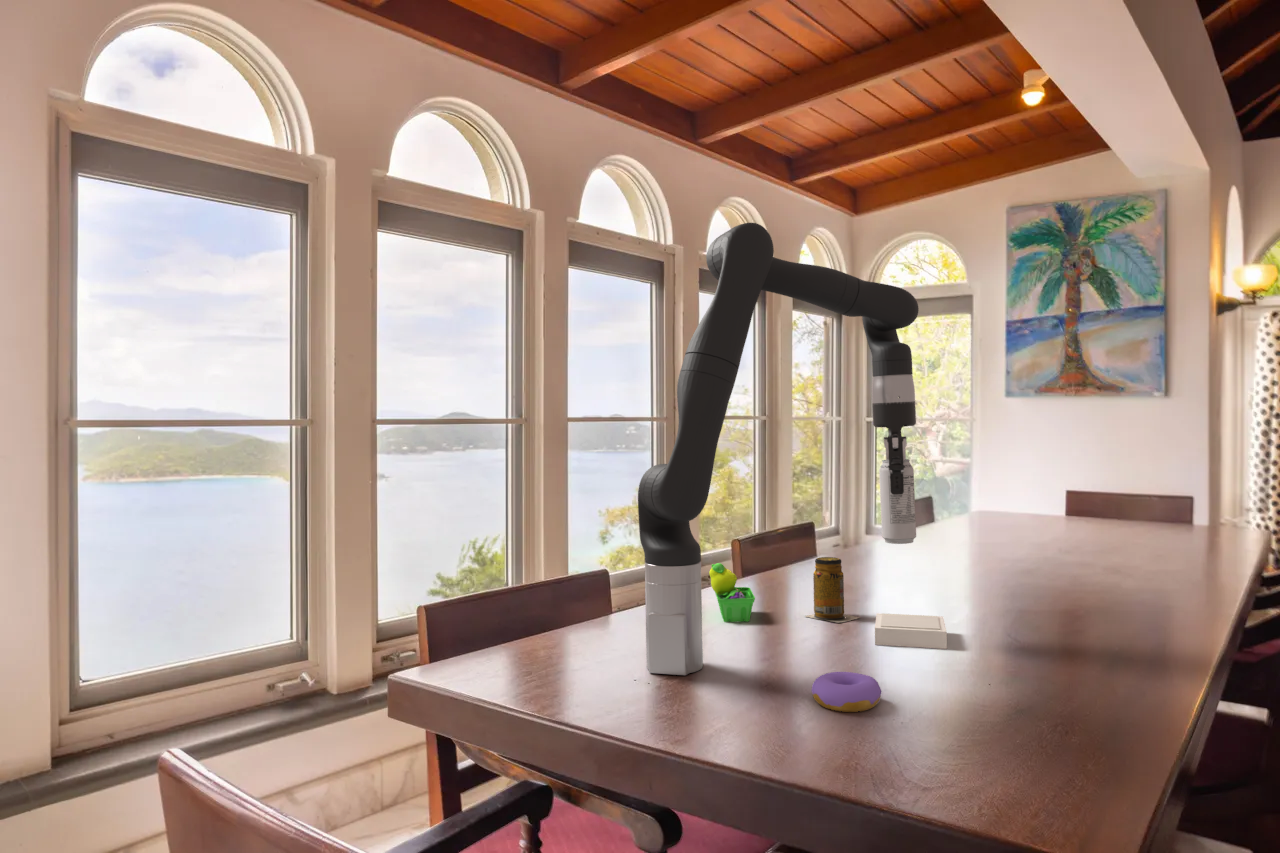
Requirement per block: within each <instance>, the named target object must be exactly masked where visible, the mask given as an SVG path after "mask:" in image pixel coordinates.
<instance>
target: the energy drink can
mask: <svg viewBox="0 0 1280 853" xmlns="http://www.w3.org/2000/svg"><path fill="white" fill-rule="evenodd" d="M910 461H911V460H910V459H907V458H906V461H905V462H903V465H904V473H903V484H904V493H903V494H892V493H891V481H890V474H891V473H890V472H889V468H888V466H889V462H887V461H886V459H883V460H882V461H881V466H880V467H879V470H878V471H879V472H878V474H879V496H880V499H879V500H880V517H881V518H880V520H881V523H880V524H881V537H882V538H883V540H884V541H885V543H887V544H892V545H893V544H895V545H903V544H905V545H906V544H912V543H914V539H916V538H917V523H916V522H917V521H916V498H915V496H916V494H915V474H914V472H915V470H914V467H913V466H912V464H911V463H910ZM893 463H900V462H892V464H893ZM900 464H901V463H900Z"/></svg>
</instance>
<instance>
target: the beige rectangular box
mask: <svg viewBox="0 0 1280 853" xmlns="http://www.w3.org/2000/svg"><path fill="white" fill-rule="evenodd" d="M875 616H876V617H875V622H874V623H875V624H874V645H875V646H890V647H891V646H893V647H903V648H904V647H908V648H925V649H937V650H938V649H941V650H947V649H948V640H947V639H948V638H947V636H948V635H947V626H946V623H945V618H944V616H940V615H939V616H938V615H922V614H901V613H900V614H899V613H879V612H878V613H877V612H876V615H875Z"/></svg>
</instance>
